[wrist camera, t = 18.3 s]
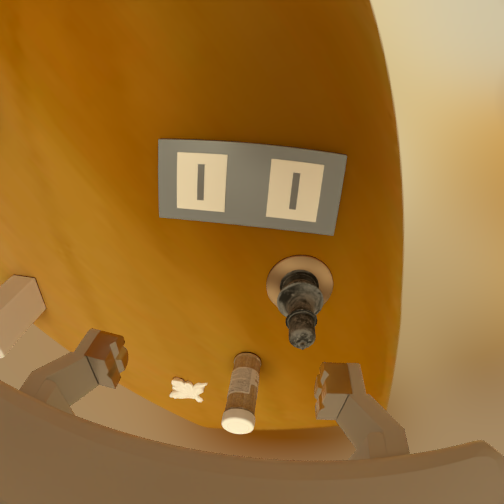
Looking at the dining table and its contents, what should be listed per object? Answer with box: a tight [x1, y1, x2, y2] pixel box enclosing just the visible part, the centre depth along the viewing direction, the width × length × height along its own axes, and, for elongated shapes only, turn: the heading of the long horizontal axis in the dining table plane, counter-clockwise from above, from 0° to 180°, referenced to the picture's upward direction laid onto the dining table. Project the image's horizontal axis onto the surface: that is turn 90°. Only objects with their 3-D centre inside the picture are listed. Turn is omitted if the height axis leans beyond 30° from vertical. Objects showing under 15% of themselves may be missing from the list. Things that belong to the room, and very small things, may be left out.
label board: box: [158, 139, 347, 236], centre depth 36 cm, size 10×22×1 cm, turn 86°
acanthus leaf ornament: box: [170, 377, 207, 402], centre depth 54 cm, size 8×7×2 cm
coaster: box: [266, 255, 333, 307], centre depth 41 cm, size 9×9×1 cm
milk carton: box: [0, 275, 46, 358], centre depth 40 cm, size 7×7×19 cm
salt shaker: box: [277, 270, 324, 350], centre depth 36 cm, size 6×6×12 cm
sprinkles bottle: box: [222, 353, 261, 434], centre depth 43 cm, size 5×5×13 cm
